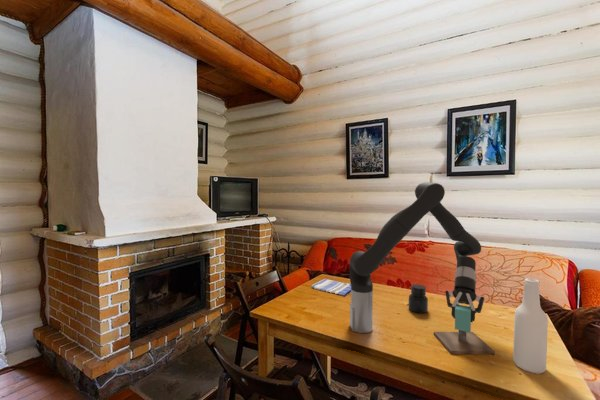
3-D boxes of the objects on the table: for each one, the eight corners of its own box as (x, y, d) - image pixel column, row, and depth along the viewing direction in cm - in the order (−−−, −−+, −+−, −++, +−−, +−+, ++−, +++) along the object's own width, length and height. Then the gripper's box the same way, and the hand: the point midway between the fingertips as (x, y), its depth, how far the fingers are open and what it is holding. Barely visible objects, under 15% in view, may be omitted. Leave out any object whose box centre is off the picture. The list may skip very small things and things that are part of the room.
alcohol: (550, 377, 92) (554, 285, 91) (517, 370, 95) (520, 282, 94) (539, 361, 100) (542, 277, 99) (509, 356, 104) (512, 274, 102)
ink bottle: (425, 306, 147) (425, 283, 146) (431, 314, 138) (431, 289, 138) (405, 306, 148) (405, 283, 147) (410, 313, 139) (410, 289, 139)
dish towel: (325, 281, 188) (325, 277, 188) (358, 289, 174) (358, 284, 174) (310, 289, 175) (310, 284, 175) (344, 297, 160) (344, 293, 160)
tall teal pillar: (454, 329, 111) (455, 308, 111) (455, 323, 115) (456, 304, 115) (470, 332, 108) (470, 311, 108) (470, 327, 113) (471, 307, 112)
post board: (450, 354, 105) (451, 334, 105) (433, 334, 119) (434, 317, 119) (494, 354, 105) (495, 335, 105) (472, 334, 119) (472, 317, 119)
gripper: (445, 272, 121) (441, 311, 112) (485, 278, 113) (485, 320, 104) (446, 281, 126) (442, 319, 116) (485, 287, 118) (484, 328, 108)
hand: (462, 319), depth 110 cm, fingers closed on tall teal pillar, 5 cm apart
